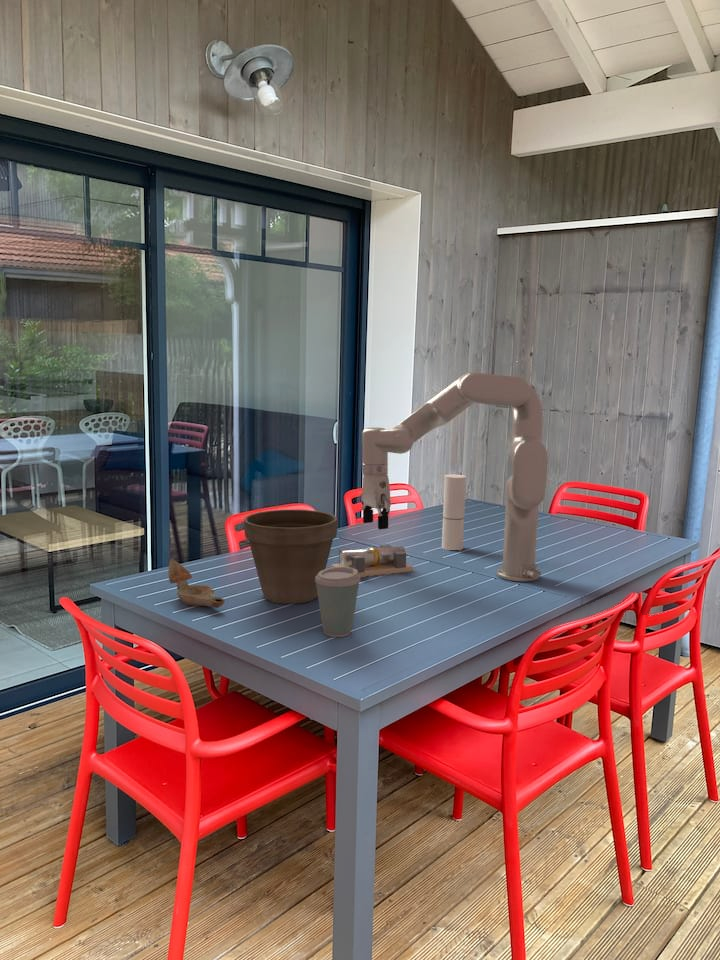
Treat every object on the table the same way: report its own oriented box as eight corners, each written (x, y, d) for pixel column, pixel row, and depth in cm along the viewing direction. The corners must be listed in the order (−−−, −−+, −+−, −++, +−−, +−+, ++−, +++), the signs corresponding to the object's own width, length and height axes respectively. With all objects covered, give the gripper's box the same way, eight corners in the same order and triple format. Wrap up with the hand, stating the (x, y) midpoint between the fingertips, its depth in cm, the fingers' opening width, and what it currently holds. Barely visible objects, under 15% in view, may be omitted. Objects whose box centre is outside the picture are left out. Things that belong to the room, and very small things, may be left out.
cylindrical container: (462, 546, 267) (465, 474, 263) (463, 551, 260) (466, 478, 256) (441, 545, 267) (444, 473, 263) (441, 550, 260) (444, 477, 256)
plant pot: (235, 586, 215) (235, 510, 212) (319, 579, 224) (320, 506, 220) (255, 615, 192) (255, 530, 188) (348, 606, 201) (350, 524, 197)
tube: (397, 560, 241) (398, 543, 240) (405, 564, 236) (406, 547, 235) (339, 565, 232) (339, 549, 231) (346, 570, 227) (347, 553, 226)
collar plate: (412, 571, 234) (413, 552, 233) (347, 579, 224) (347, 559, 223) (394, 562, 244) (395, 543, 243) (331, 569, 234) (331, 550, 234)
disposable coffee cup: (330, 644, 174) (331, 580, 172) (305, 629, 183) (305, 568, 180) (368, 635, 180) (369, 573, 178) (342, 621, 189) (343, 562, 186)
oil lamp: (185, 591, 210) (184, 555, 209) (235, 609, 196) (235, 571, 195) (158, 598, 204) (157, 561, 202) (208, 617, 190) (208, 578, 188)
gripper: (400, 472, 223) (400, 529, 226) (373, 464, 239) (373, 519, 241) (377, 474, 220) (377, 532, 223) (351, 466, 235) (351, 521, 238)
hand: (375, 525), depth 232 cm, fingers open, 9 cm apart
